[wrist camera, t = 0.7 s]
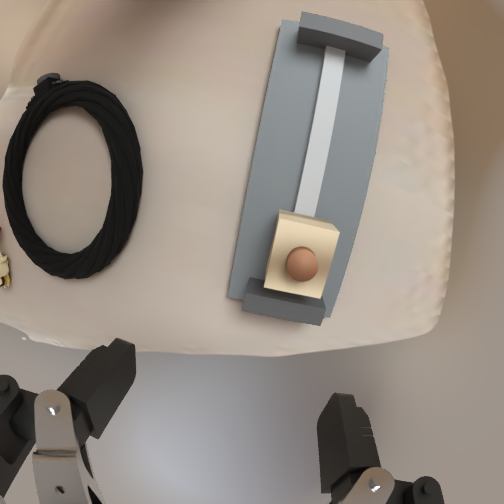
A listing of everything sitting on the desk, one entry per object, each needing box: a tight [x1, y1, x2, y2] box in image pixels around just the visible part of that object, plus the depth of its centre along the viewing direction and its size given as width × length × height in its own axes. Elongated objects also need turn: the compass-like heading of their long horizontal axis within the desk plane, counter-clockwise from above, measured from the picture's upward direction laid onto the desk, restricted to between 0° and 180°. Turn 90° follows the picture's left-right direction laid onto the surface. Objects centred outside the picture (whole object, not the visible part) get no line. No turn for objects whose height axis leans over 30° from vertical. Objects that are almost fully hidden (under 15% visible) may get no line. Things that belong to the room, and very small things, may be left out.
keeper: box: [264, 209, 340, 299], centre depth 24 cm, size 6×5×7 cm
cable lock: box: [3, 73, 143, 279], centre depth 29 cm, size 28×4×30 cm
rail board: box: [228, 12, 389, 326], centre depth 25 cm, size 32×12×6 cm, turn 169°
